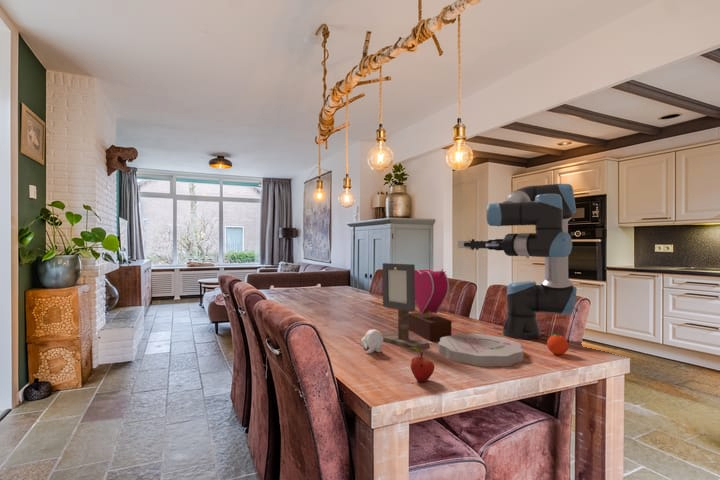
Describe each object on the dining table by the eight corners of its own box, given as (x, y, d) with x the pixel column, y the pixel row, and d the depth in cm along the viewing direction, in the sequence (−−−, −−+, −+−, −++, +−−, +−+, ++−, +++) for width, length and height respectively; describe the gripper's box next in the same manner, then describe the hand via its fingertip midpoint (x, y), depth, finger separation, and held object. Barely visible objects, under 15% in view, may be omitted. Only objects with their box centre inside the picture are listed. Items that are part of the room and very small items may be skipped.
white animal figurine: (368, 331, 136) (356, 327, 147) (369, 355, 135) (356, 349, 146) (384, 329, 139) (371, 326, 150) (385, 353, 138) (371, 348, 149)
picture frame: (415, 310, 146) (414, 264, 147) (410, 311, 145) (410, 264, 145) (386, 306, 159) (386, 263, 159) (381, 306, 157) (381, 263, 157)
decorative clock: (455, 340, 156) (455, 268, 156) (433, 343, 153) (432, 268, 153) (427, 327, 180) (427, 264, 180) (407, 329, 177) (407, 265, 177)
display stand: (429, 346, 147) (429, 265, 148) (415, 350, 142) (415, 266, 142) (389, 335, 164) (389, 263, 165) (376, 338, 159) (376, 264, 159)
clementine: (540, 351, 141) (540, 332, 141) (556, 350, 142) (556, 331, 142) (557, 357, 133) (556, 337, 133) (573, 356, 135) (573, 336, 135)
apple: (426, 375, 116) (426, 342, 116) (438, 383, 109) (438, 348, 110) (404, 378, 113) (404, 345, 113) (415, 386, 107) (415, 351, 107)
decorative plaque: (431, 333, 155) (505, 333, 154) (431, 342, 155) (505, 342, 154) (447, 355, 125) (538, 356, 124) (447, 366, 125) (539, 367, 124)
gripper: (508, 256, 120) (448, 254, 139) (528, 255, 129) (469, 253, 147) (508, 233, 120) (448, 234, 139) (528, 233, 129) (469, 234, 147)
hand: (458, 244), depth 143 cm, fingers closed
